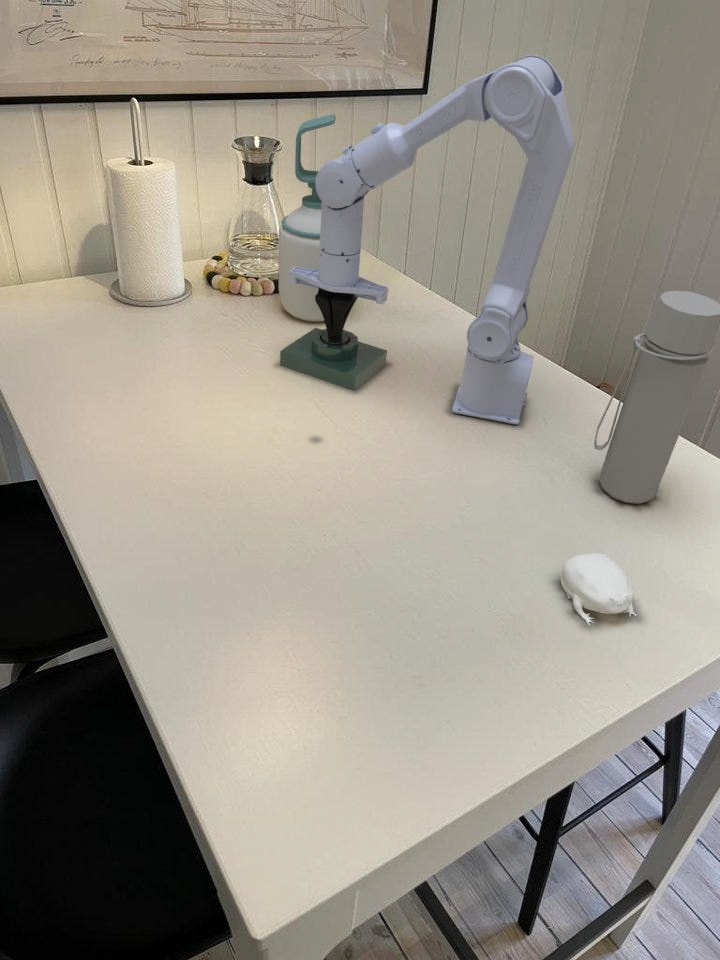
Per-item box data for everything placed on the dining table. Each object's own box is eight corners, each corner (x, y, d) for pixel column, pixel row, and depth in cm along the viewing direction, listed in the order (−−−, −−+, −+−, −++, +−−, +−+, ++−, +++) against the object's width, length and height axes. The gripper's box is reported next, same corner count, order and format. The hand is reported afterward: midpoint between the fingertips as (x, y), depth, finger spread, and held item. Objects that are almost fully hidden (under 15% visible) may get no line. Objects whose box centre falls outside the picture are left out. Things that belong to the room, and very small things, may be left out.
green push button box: (385, 364, 117) (388, 338, 114) (354, 391, 110) (356, 363, 107) (314, 341, 121) (315, 315, 119) (279, 365, 114) (280, 338, 112)
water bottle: (656, 479, 97) (726, 296, 82) (655, 514, 91) (730, 324, 76) (584, 462, 99) (640, 280, 84) (578, 495, 93) (637, 306, 78)
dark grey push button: (352, 348, 115) (353, 336, 113) (339, 358, 112) (339, 346, 111) (329, 341, 116) (330, 329, 115) (316, 350, 113) (316, 338, 112)
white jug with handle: (348, 329, 126) (362, 128, 107) (274, 324, 125) (275, 121, 107) (350, 299, 136) (363, 110, 117) (281, 294, 135) (283, 104, 117)
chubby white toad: (643, 618, 77) (655, 592, 75) (585, 630, 75) (595, 603, 73) (602, 565, 83) (611, 540, 81) (548, 575, 81) (556, 549, 79)
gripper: (398, 250, 106) (389, 337, 114) (304, 230, 109) (302, 317, 118) (381, 266, 100) (373, 357, 109) (283, 245, 104) (282, 334, 112)
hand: (334, 337), depth 113 cm, fingers closed, pressing on dark grey push button
